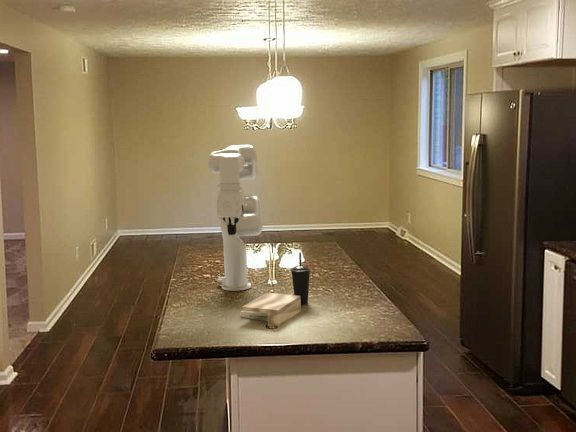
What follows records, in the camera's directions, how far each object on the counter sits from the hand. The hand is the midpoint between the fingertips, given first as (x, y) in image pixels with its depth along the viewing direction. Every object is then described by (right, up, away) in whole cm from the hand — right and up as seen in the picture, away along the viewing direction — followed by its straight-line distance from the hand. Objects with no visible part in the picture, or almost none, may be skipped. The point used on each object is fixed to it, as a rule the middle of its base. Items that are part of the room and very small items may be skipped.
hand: (232, 234), depth 280 cm
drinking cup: (+27, -27, -1) cm, 38 cm away
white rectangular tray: (+12, -29, -16) cm, 36 cm away
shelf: (+16, -30, -18) cm, 38 cm away
